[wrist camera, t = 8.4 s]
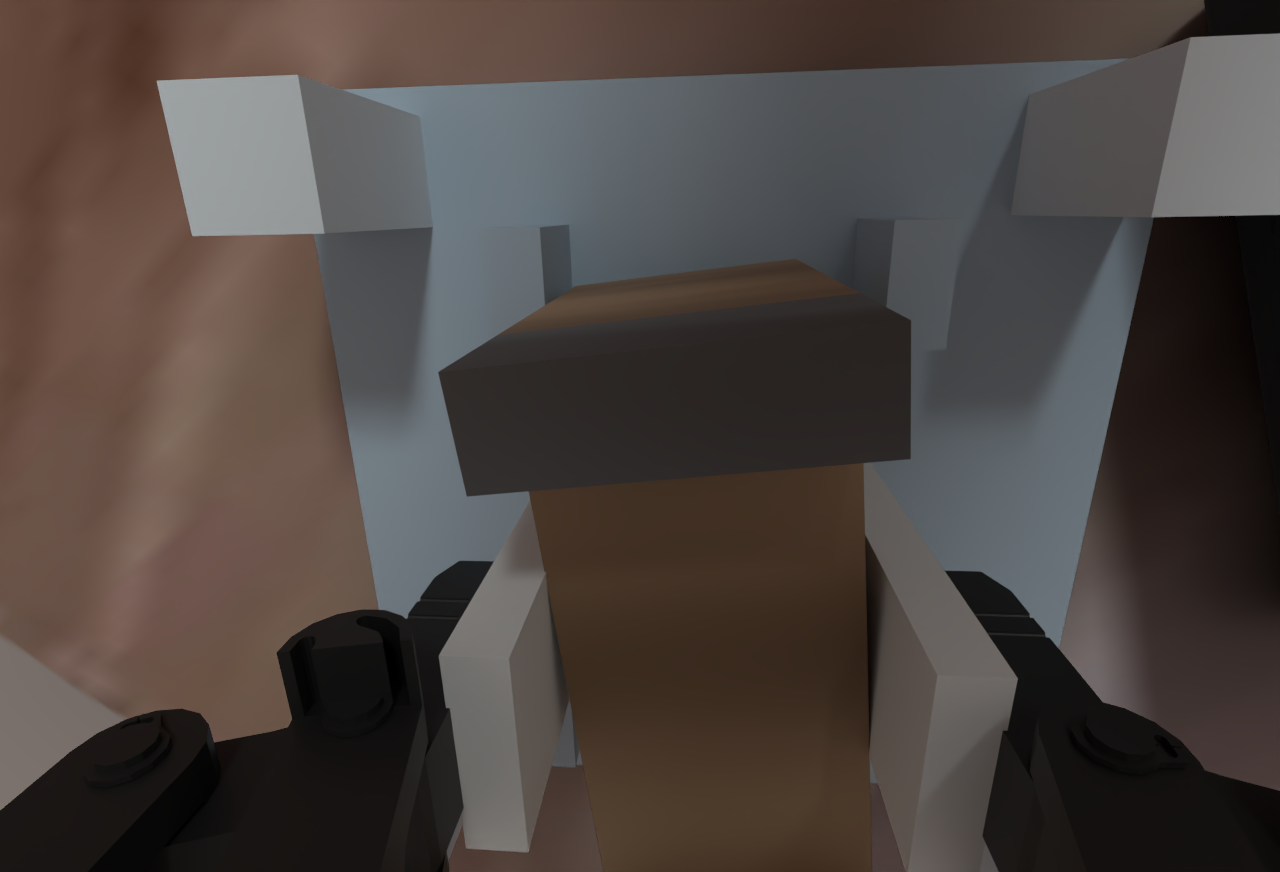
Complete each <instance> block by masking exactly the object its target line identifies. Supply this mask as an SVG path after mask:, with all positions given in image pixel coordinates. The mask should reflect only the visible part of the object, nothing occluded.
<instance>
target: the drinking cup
mask: <svg viewBox="0 0 1280 872" xmlns="http://www.w3.org/2000/svg"><path fill="white" fill-rule="evenodd" d="M1204 4H1205V10H1206V17H1207V24H1208V31H1209V36H1231V35H1255V34H1279V33H1280V0H1204ZM1236 222H1237V229H1238V236H1239V243H1240V250H1241V256H1242V263H1243V270H1244V277H1245V284H1246V291H1247V297H1248V304H1249V311H1250V318H1251V325H1252V332H1253V338H1254V345H1255V352H1256V359H1257V366H1258V372H1259V379H1260V386H1261V393H1262V400H1263V407H1264V413H1265V420H1266V427H1267V434H1268V441H1269V448H1270V454H1271V461H1272V468H1273V475H1274V482H1275V489H1276V495H1277V502H1278V509H1279V516H1280V215H1242V216H1236Z"/></svg>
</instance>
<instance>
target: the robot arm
mask: <svg viewBox="0 0 1280 872" xmlns="http://www.w3.org/2000/svg"><path fill="white" fill-rule="evenodd" d="M864 510H865V558H866V606H867V654H868V701H869V757H870V760H871V763H872V766H873V769H874V773H875V776H876V779H877V782H878V786H879V789H880V792H881V795H882V798H883V802H884V805H885V808H886V811H887V814H888V818H889V821H890V824H891V827H892V831H893V834H894V837H895V840H896V843H897V847H898V850H899V853H900V856H901V860H902V863H903V866H904V869H905V872H979V871H980V866H981V861H982V856H983V851H984V846H985V843H986V845H987V847H988V850H989V852H990V854H991V856H992V858H993V861H994V863H995V865H996V867H997V869H998V872H1280V791H1278V790H1274V789H1270V788H1266V787H1262V786H1258V785H1255V784H1251V783H1247V782H1243V781H1239V780H1235V779H1231V778H1228V777H1224V776H1220V775H1217V774H1214V773H1211V772H1208V771H1205V770H1204V769H1203V767H1202V765H1201V764H1200V762H1199V761H1198V760H1197V759H1196V758H1195V756H1194V755H1193V754H1192V753H1191V752H1190V751H1189V750H1188V748H1187V747H1186V746H1185V745H1184V744H1183V743H1182V742H1181V741H1180V740H1179V739H1177V738H1176V737H1175V736H1173V735H1172V734H1170V733H1169V732H1167V731H1166V730H1165V729H1163V728H1162V727H1160V726H1159V725H1157V724H1156V723H1155V722H1153V721H1150V720H1148V719H1146V718H1144V717H1142V716H1140V715H1138V714H1135V713H1133V712H1131V711H1129V710H1127V709H1125V708H1121V707H1118V706H1114V705H1110V704H1106V703H1103V702H1102V701H1101V700H1100V699H1099V697H1098V696H1097V695H1096V694H1095V692H1094V691H1093V690H1092V689H1091V688H1090V686H1089V685H1088V684H1087V683H1086V681H1085V680H1084V679H1083V678H1082V677H1081V675H1080V674H1079V673H1078V672H1077V670H1076V669H1075V668H1074V667H1073V666H1072V664H1071V663H1070V662H1069V661H1068V660H1067V658H1066V657H1065V656H1064V655H1063V653H1062V652H1061V651H1060V650H1059V649H1058V647H1057V646H1056V645H1055V644H1054V642H1053V641H1052V640H1051V639H1050V638H1047V637H1046V636H1045V632H1044V630H1043V629H1042V628H1041V627H1040V625H1039V624H1038V623H1037V622H1036V621H1035V619H1034V618H1030V613H1029V612H1028V611H1027V610H1026V608H1025V607H1024V606H1023V605H1022V604H1021V602H1020V601H1019V600H1018V599H1017V597H1016V596H1015V595H1014V594H1013V593H1012V591H1011V590H1009V589H1007V588H1006V587H1004V586H1003V585H1001V584H1000V583H998V582H997V581H995V580H993V579H992V578H990V577H989V576H987V575H986V574H984V573H983V572H981V571H944V569H943V568H942V566H941V565H940V563H939V562H938V560H937V559H936V558H935V556H934V555H933V553H932V552H931V550H930V549H929V547H928V546H927V544H926V543H925V541H924V540H923V538H922V537H921V536H920V534H919V533H918V531H917V530H916V528H915V527H914V525H913V524H912V522H911V521H910V519H909V518H908V516H907V515H906V513H905V512H904V511H903V509H902V508H901V506H900V505H899V503H898V502H897V500H896V499H895V497H894V496H893V494H892V493H891V491H890V490H889V489H888V487H887V486H886V484H885V483H884V481H883V480H882V478H881V477H880V475H879V474H878V472H877V471H876V469H875V468H874V467H873V465H872V464H871V463H864ZM277 656H278V660H279V664H280V669H281V673H282V677H283V681H284V686H285V690H286V694H287V698H288V703H289V707H290V711H291V715H292V721H291V723H290V725H289V727H288V728H284V729H280V730H276V731H273V732H268V733H262V734H257V735H252V736H247V737H241V738H236V739H231V740H226V741H221V742H215V743H214V741H213V738H212V734H211V731H210V727H209V724H208V723H207V722H206V721H205V719H204V718H203V717H202V716H201V714H200V713H196V712H192V711H188V710H184V709H173V710H160V711H154V712H150V713H147V714H142V715H140V716H135V717H132V718H129V719H127V720H124V721H122V722H120V723H118V724H116V725H114V726H112V727H110V728H108V729H105V730H104V731H101V732H99V733H97V734H96V735H94V736H93V737H91V738H90V739H88V740H87V741H85V742H84V743H83V744H81V745H80V746H78V747H77V748H75V749H74V750H72V751H71V752H70V753H69V754H67V755H66V756H65V757H64V758H62V759H61V760H60V761H59V762H58V763H57V764H55V765H54V766H53V767H52V768H50V769H49V770H48V771H47V772H46V773H45V774H43V775H42V776H41V777H40V778H39V779H37V780H36V781H35V782H34V783H33V784H31V785H30V786H29V787H28V788H27V789H25V790H24V791H23V792H22V793H21V794H19V795H18V796H17V797H16V798H15V799H14V800H12V801H11V802H10V803H9V804H8V805H6V806H5V807H4V808H3V809H2V810H0V872H449V862H448V856H447V849H448V846H449V844H450V841H451V839H452V836H453V834H454V831H455V829H456V826H457V823H458V821H459V818H460V816H461V818H462V825H463V832H464V839H465V846H466V849H482V850H497V851H512V852H529V849H530V845H531V841H532V837H533V834H534V830H535V826H536V822H537V819H538V815H539V811H540V807H541V804H542V800H543V796H544V792H545V789H546V785H547V781H548V777H549V774H550V770H551V766H552V762H553V759H554V755H555V751H556V747H557V744H558V740H559V736H560V732H561V729H562V725H563V721H564V717H565V714H566V710H567V706H568V702H569V693H568V688H567V683H566V678H565V673H564V668H563V663H562V658H561V653H560V648H559V643H558V638H557V633H556V628H555V623H554V618H553V612H552V607H551V602H550V597H549V592H548V587H547V579H546V572H544V567H543V562H542V557H541V552H540V547H539V542H538V536H537V531H536V526H535V521H534V516H533V511H532V506H531V501H529V503H528V505H527V506H526V508H525V510H524V511H523V513H522V515H521V517H520V518H519V520H518V522H517V523H516V525H515V527H514V528H513V530H512V532H511V534H510V535H509V537H508V539H507V540H506V542H505V544H504V545H503V547H502V549H501V551H500V552H499V554H498V556H497V557H496V559H495V561H458V562H457V563H455V564H454V565H452V566H451V567H449V568H448V569H446V570H445V571H443V572H442V573H440V574H439V575H437V576H436V577H435V578H434V579H433V580H432V582H431V583H430V584H429V586H428V587H427V589H426V590H425V591H424V593H423V594H422V595H421V597H420V601H417V602H416V604H415V605H414V606H413V608H412V609H411V611H410V612H409V613H408V618H407V619H405V618H404V617H403V616H402V615H399V614H396V613H393V612H390V611H386V610H358V611H352V612H347V613H342V614H337V615H334V616H332V617H329V618H326V619H324V620H321V621H319V622H316V623H313V624H311V625H310V626H308V627H307V628H305V629H303V630H302V631H300V632H299V633H297V634H295V635H294V636H292V637H291V638H290V639H289V640H288V641H287V642H286V643H285V644H284V645H283V647H282V648H281V649H280V650H279V651H278V652H277Z"/></svg>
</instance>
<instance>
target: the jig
mask: <svg viewBox="0 0 1280 872" xmlns="http://www.w3.org/2000/svg"><path fill="white" fill-rule="evenodd" d="M157 85H158V89H159V93H160V98H161V102H162V106H163V111H164V115H165V119H166V124H167V128H168V132H169V137H170V141H171V145H172V150H173V154H174V159H175V163H176V167H177V172H178V176H179V180H180V185H181V189H182V193H183V198H184V202H185V206H186V211H187V215H188V219H189V224H190V228H191V232H192V236H224V235H275V234H314V236H315V242H316V248H317V254H318V260H319V265H320V271H321V277H322V283H323V288H324V294H325V300H326V306H327V312H328V317H329V323H330V329H331V335H332V341H333V346H334V352H335V358H336V364H337V370H338V375H339V381H340V387H341V393H342V398H343V404H344V410H345V416H346V422H347V427H348V433H349V439H350V445H351V451H352V456H353V462H354V468H355V474H356V480H357V485H358V491H359V497H360V503H361V508H362V514H363V520H364V526H365V532H366V537H367V543H368V549H369V555H370V561H371V566H372V572H373V578H374V584H375V590H376V595H377V601H378V607H379V610H386V611H390V612H393V613H396V614H399V615H402V616H403V617H404V618H405V619H407V618H408V613H409V612H410V611H411V609H412V608H413V606H414V605H415V604H416V602H417V601H420V597H421V595H422V594H423V593H424V591H425V590H426V589H427V587H428V586H429V584H430V583H431V582H432V580H433V579H434V578H435V577H436V576H437V575H439V574H440V573H442V572H443V571H445V570H446V569H448V568H449V567H451V566H452V565H454V564H455V563H457V562H458V561H495V559H496V557H497V556H498V554H499V552H500V551H501V549H502V547H503V545H504V544H505V542H506V540H507V539H508V537H509V535H510V534H511V532H512V530H513V528H514V527H515V525H516V523H517V522H518V520H519V518H520V517H521V515H522V513H523V511H524V510H525V508H526V506H527V505H528V503H529V501H530V496H529V491H527V492H516V493H504V494H492V495H480V496H468V497H467V496H466V491H465V487H464V483H463V478H462V474H461V470H460V465H459V461H458V456H457V452H456V448H455V443H454V439H453V435H452V430H451V426H450V422H449V417H448V413H447V409H446V404H445V400H444V396H443V391H442V387H441V383H440V378H439V374H438V372H439V371H441V370H442V369H444V368H445V367H447V366H449V365H450V364H452V363H453V362H455V361H457V360H458V359H460V358H461V357H463V356H465V355H466V354H468V353H469V352H471V351H473V350H474V349H476V348H477V347H479V346H481V345H482V344H484V343H485V342H487V341H489V340H490V339H492V338H493V337H495V336H497V335H498V334H500V333H501V332H503V331H505V330H506V329H508V328H509V327H511V326H513V325H514V324H516V323H517V322H519V321H521V320H522V319H524V318H525V317H527V316H529V315H530V314H532V313H533V312H535V311H537V310H538V309H540V308H541V307H543V306H545V305H546V304H548V303H549V302H551V301H553V300H554V299H556V298H557V297H559V296H561V295H562V294H564V293H565V292H567V291H569V290H570V289H572V288H573V287H575V286H579V285H587V284H595V283H603V282H611V281H619V280H627V279H635V278H644V277H652V276H660V275H668V274H676V273H684V272H692V271H700V270H709V269H717V268H725V267H733V266H741V265H749V264H757V263H765V262H773V261H782V260H790V259H797V260H799V261H801V262H803V263H805V264H806V265H808V266H810V267H812V268H814V269H816V270H818V271H820V272H821V273H823V274H825V275H827V276H829V277H831V278H833V279H835V280H836V281H838V282H840V283H842V284H844V285H846V286H848V287H850V288H851V289H853V290H855V291H857V292H859V293H861V294H863V295H865V296H866V297H868V298H870V299H872V300H874V301H876V302H878V303H880V304H881V305H883V306H885V307H887V308H889V309H891V310H893V311H895V312H896V313H898V314H900V315H902V316H904V317H906V318H908V319H910V320H911V459H907V460H895V461H883V462H871V464H872V465H873V467H874V468H875V469H876V471H877V472H878V474H879V475H880V477H881V478H882V480H883V481H884V483H885V484H886V486H887V487H888V489H889V490H890V491H891V493H892V494H893V496H894V497H895V499H896V500H897V502H898V503H899V505H900V506H901V508H902V509H903V511H904V512H905V513H906V515H907V516H908V518H909V519H910V521H911V522H912V524H913V525H914V527H915V528H916V530H917V531H918V533H919V534H920V536H921V537H922V538H923V540H924V541H925V543H926V544H927V546H928V547H929V549H930V550H931V552H932V553H933V555H934V556H935V558H936V559H937V560H938V562H939V563H940V565H941V566H942V568H943V569H944V571H981V572H983V573H984V574H986V575H987V576H989V577H990V578H992V579H993V580H995V581H997V582H998V583H1000V584H1001V585H1003V586H1004V587H1006V588H1007V589H1009V590H1011V591H1012V593H1013V594H1014V595H1015V596H1016V597H1017V599H1018V600H1019V601H1020V602H1021V604H1022V605H1023V606H1024V607H1025V608H1026V610H1027V611H1028V612H1029V613H1030V618H1034V619H1035V621H1036V622H1037V623H1038V624H1039V625H1040V627H1041V628H1042V629H1043V630H1044V632H1045V636H1046V637H1047V638H1050V639H1051V640H1052V641H1053V642H1054V644H1055V645H1056V646H1057V647H1058V649H1059V646H1060V641H1061V637H1062V632H1063V628H1064V623H1065V619H1066V614H1067V610H1068V605H1069V601H1070V596H1071V592H1072V587H1073V582H1074V578H1075V573H1076V569H1077V564H1078V560H1079V555H1080V551H1081V546H1082V542H1083V537H1084V533H1085V528H1086V523H1087V519H1088V514H1089V510H1090V505H1091V501H1092V496H1093V492H1094V487H1095V483H1096V478H1097V473H1098V469H1099V464H1100V460H1101V455H1102V451H1103V446H1104V442H1105V437H1106V433H1107V428H1108V424H1109V419H1110V414H1111V410H1112V405H1113V401H1114V396H1115V392H1116V387H1117V383H1118V378H1119V374H1120V369H1121V365H1122V360H1123V355H1124V351H1125V346H1126V342H1127V337H1128V333H1129V328H1130V324H1131V319H1132V315H1133V310H1134V306H1135V301H1136V296H1137V292H1138V287H1139V283H1140V278H1141V274H1142V269H1143V265H1144V260H1145V256H1146V251H1147V246H1148V242H1149V237H1150V233H1151V228H1152V224H1153V219H1154V217H1191V216H1242V215H1280V33H1279V34H1255V35H1231V36H1208V37H1190V38H1187V39H1184V40H1182V41H1179V42H1176V43H1173V44H1170V45H1167V46H1165V47H1162V48H1159V49H1156V50H1153V51H1151V52H1148V53H1145V54H1142V55H1139V56H1136V57H1134V58H1128V59H1103V60H1078V61H1052V62H1027V63H1002V64H977V65H952V66H927V67H901V68H876V69H851V70H826V71H801V72H776V73H751V74H725V75H700V76H675V77H650V78H625V79H600V80H574V81H549V82H524V83H499V84H474V85H449V86H423V87H398V88H373V89H348V90H341V89H338V88H335V87H332V86H329V85H326V84H323V83H321V82H318V81H315V80H312V79H309V78H306V77H303V76H300V75H281V76H258V77H234V78H210V79H186V80H163V81H157ZM576 765H583V764H582V759H581V754H580V749H579V744H578V739H577V734H576V729H575V724H574V719H573V714H572V709H571V704H570V699H569V702H568V706H567V710H566V714H565V717H564V721H563V725H562V729H561V732H560V736H559V740H558V744H557V747H556V751H555V755H554V759H553V762H552V766H555V767H574V768H576ZM870 783H873V784H878V782H877V779H876V776H875V773H874V769H873V766H872V763H871V760H870ZM461 828H462V818H461V816H460V818H459V821H458V823H457V826H456V829H455V831H454V834H453V836H452V839H451V841H450V844H449V846H448V849H447V856H448V862H449V859H450V856H451V854H452V851H453V849H454V846H455V843H456V841H457V838H458V836H459V833H460V831H461ZM979 872H998V869H997V867H996V865H995V863H994V861H993V858H992V856H991V854H990V852H989V850H988V847H987V845H986V843H985V846H984V851H983V856H982V861H981V866H980V871H979Z"/></svg>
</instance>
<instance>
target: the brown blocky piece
mask: <svg viewBox="0 0 1280 872" xmlns="http://www.w3.org/2000/svg"><path fill="white" fill-rule="evenodd" d="M438 374H439V378H440V383H441V387H442V391H443V396H444V400H445V404H446V409H447V413H448V417H449V422H450V426H451V430H452V435H453V439H454V443H455V448H456V452H457V456H458V461H459V465H460V470H461V474H462V478H463V483H464V487H465V491H466V496H467V497H468V496H480V495H492V494H504V493H516V492H527V491H529V496H530V501H531V506H532V511H533V516H534V521H535V526H536V531H537V536H538V542H539V547H540V552H541V557H542V562H543V567H544V572H546V579H547V587H548V592H549V597H550V602H551V607H552V612H553V618H554V623H555V628H556V633H557V638H558V643H559V648H560V653H561V658H562V663H563V668H564V673H565V678H566V683H567V688H568V693H569V699H570V704H571V709H572V714H573V719H574V724H575V729H576V734H577V739H578V744H579V749H580V754H581V759H582V764H583V769H584V775H585V780H586V785H587V790H588V795H589V800H590V805H591V810H592V815H593V820H594V825H595V830H596V835H597V840H598V845H599V851H600V856H601V861H602V866H603V871H604V872H872V844H871V797H870V757H869V701H868V654H867V606H866V558H865V510H864V463H871V462H883V461H895V460H907V459H911V320H910V319H908V318H906V317H904V316H902V315H900V314H898V313H896V312H895V311H893V310H891V309H889V308H887V307H885V306H883V305H881V304H880V303H878V302H876V301H874V300H872V299H870V298H868V297H866V296H865V295H863V294H861V293H859V292H857V291H855V290H853V289H851V288H850V287H848V286H846V285H844V284H842V283H840V282H838V281H836V280H835V279H833V278H831V277H829V276H827V275H825V274H823V273H821V272H820V271H818V270H816V269H814V268H812V267H810V266H808V265H806V264H805V263H803V262H801V261H799V260H797V259H790V260H782V261H773V262H765V263H757V264H749V265H741V266H733V267H725V268H717V269H709V270H700V271H692V272H684V273H676V274H668V275H660V276H652V277H644V278H635V279H627V280H619V281H611V282H603V283H595V284H587V285H579V286H575V287H573V288H572V289H570V290H569V291H567V292H565V293H564V294H562V295H561V296H559V297H557V298H556V299H554V300H553V301H551V302H549V303H548V304H546V305H545V306H543V307H541V308H540V309H538V310H537V311H535V312H533V313H532V314H530V315H529V316H527V317H525V318H524V319H522V320H521V321H519V322H517V323H516V324H514V325H513V326H511V327H509V328H508V329H506V330H505V331H503V332H501V333H500V334H498V335H497V336H495V337H493V338H492V339H490V340H489V341H487V342H485V343H484V344H482V345H481V346H479V347H477V348H476V349H474V350H473V351H471V352H469V353H468V354H466V355H465V356H463V357H461V358H460V359H458V360H457V361H455V362H453V363H452V364H450V365H449V366H447V367H445V368H444V369H442V370H441V371H439V372H438Z"/></svg>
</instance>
